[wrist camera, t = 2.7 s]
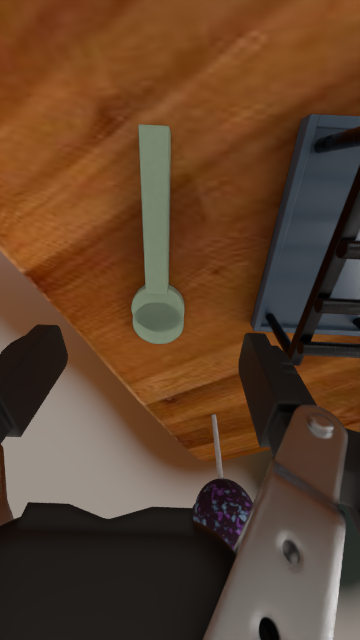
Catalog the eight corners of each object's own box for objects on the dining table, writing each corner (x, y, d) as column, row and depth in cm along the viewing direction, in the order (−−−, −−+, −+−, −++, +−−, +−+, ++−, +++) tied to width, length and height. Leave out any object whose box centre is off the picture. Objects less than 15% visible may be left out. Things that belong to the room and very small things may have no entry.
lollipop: (232, 397, 31) (263, 547, 18) (240, 425, 35) (271, 568, 22) (185, 405, 32) (183, 551, 20) (197, 431, 36) (202, 571, 23)
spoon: (119, 128, 16) (111, 122, 14) (194, 132, 16) (195, 127, 14) (136, 337, 26) (132, 348, 24) (182, 339, 26) (182, 350, 24)
